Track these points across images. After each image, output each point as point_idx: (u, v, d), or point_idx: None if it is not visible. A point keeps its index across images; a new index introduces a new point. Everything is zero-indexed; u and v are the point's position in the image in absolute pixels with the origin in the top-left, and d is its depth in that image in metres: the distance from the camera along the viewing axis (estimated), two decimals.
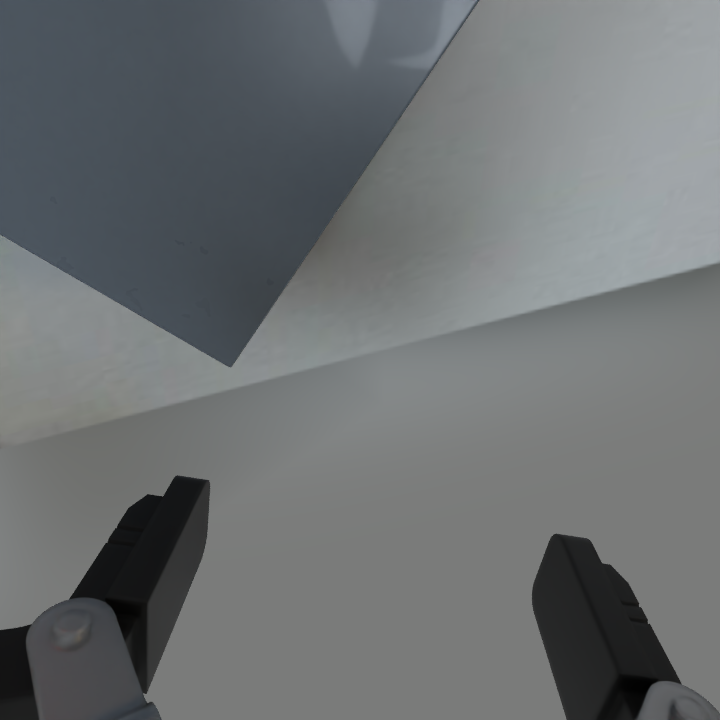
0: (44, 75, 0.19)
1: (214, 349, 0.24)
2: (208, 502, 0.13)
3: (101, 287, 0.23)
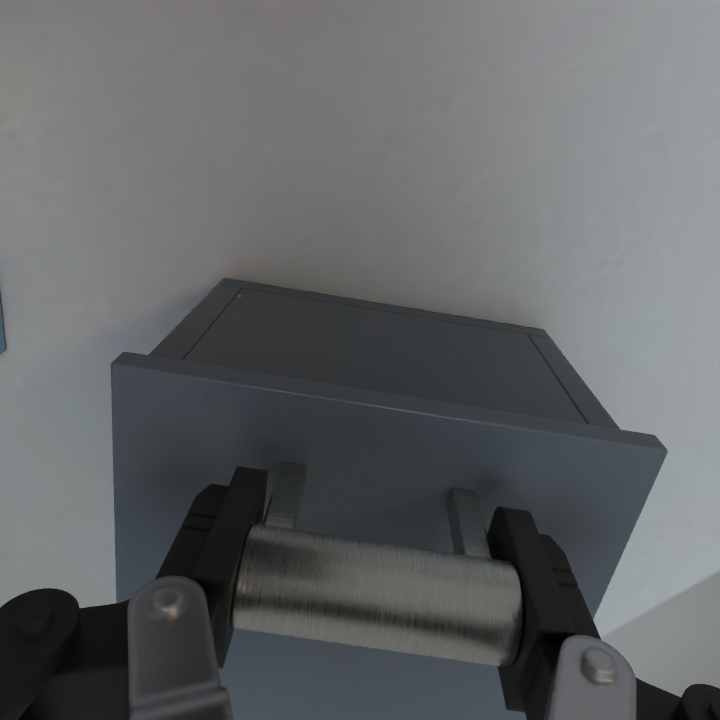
0: None
1: None
2: (265, 491, 0.13)
3: None
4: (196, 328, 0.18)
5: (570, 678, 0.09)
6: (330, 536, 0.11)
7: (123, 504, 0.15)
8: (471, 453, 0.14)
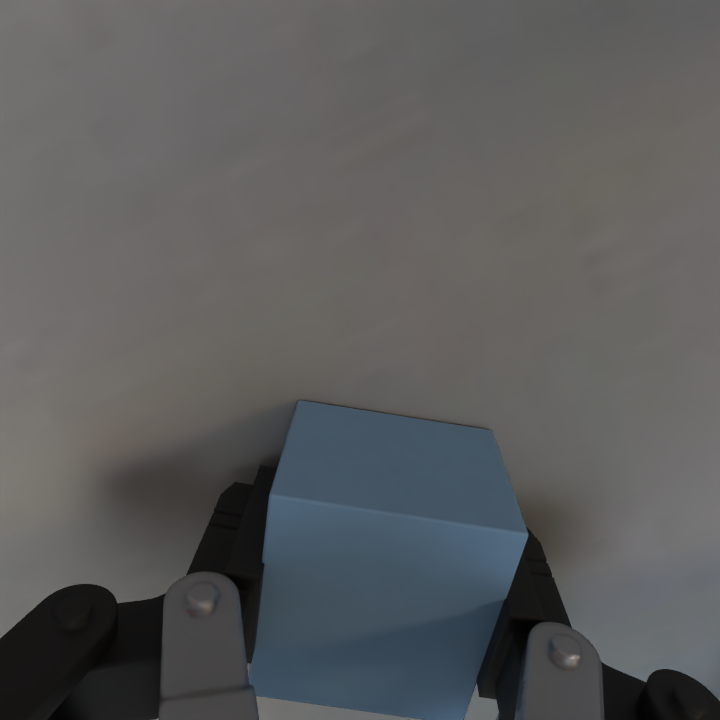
0: None
1: None
2: None
3: None
4: None
5: (539, 666, 0.09)
6: None
7: None
8: None
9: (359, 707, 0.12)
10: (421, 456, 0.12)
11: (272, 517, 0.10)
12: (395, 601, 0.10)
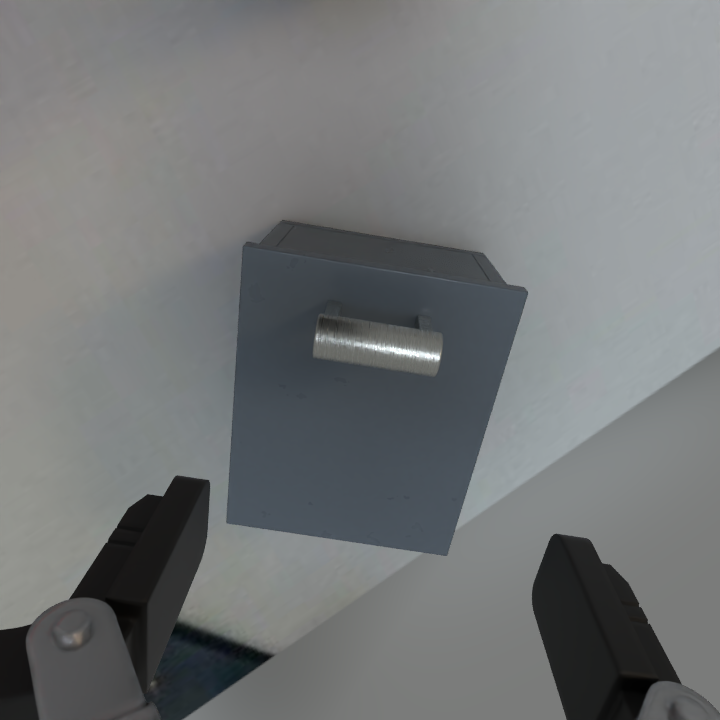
0: (289, 446, 0.32)
1: (432, 548, 0.35)
2: (208, 502, 0.13)
3: (351, 539, 0.35)
4: (276, 238, 0.33)
5: None
6: (356, 319, 0.25)
7: (243, 326, 0.29)
8: (427, 295, 0.27)
9: None
10: None
11: None
12: None
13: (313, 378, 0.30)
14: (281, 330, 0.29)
